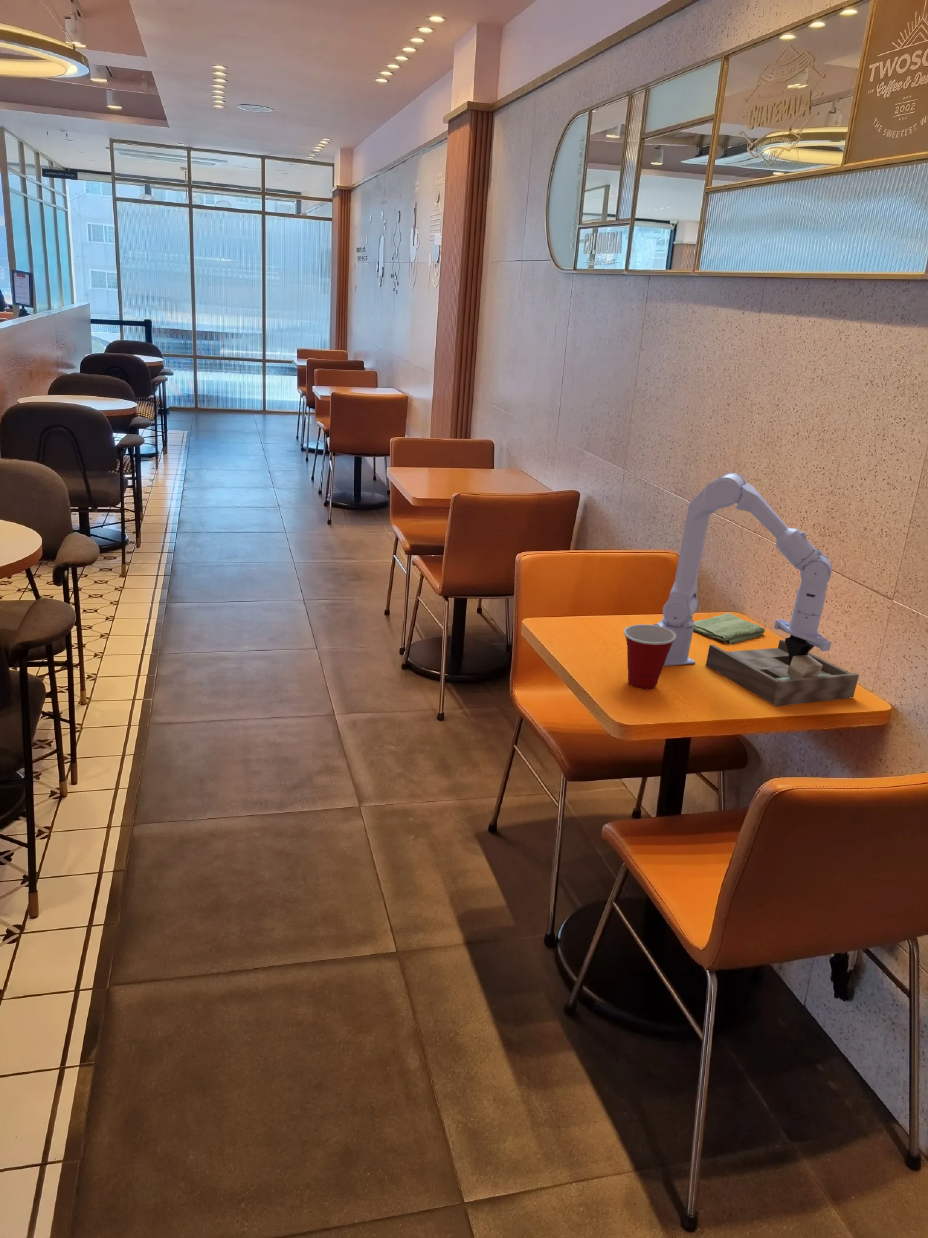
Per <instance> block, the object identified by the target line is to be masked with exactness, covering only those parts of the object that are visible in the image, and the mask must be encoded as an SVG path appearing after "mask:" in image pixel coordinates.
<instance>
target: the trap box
mask: <svg viewBox="0 0 928 1238" xmlns="http://www.w3.org/2000/svg"><path fill="white" fill-rule="evenodd" d="M807 655H810V656H811V657H812V658H814V659H815V660H816V661H818V662H819V663H820V664H822V665H823V666H822V669H821V671H820V674H819V676H818V677H807V678H797V679H793V678H792V677H791V676H790V675H788V674H787V671H788V669H789V654H788V649H787V646H786V643H785V639H779V642H778V646H777V647H774V648H773V647H772V648H759V649H748V650H746V649H745V650H731V651H726V650H724V649H722V648H720V647H718V646H716V645H714V644H709V646H708V652H707V656H706V661H705V666H706V667H707V668H710V669H711V670H713V671H715V672H716V673H718V674H720V675H721V676H724V677H725V678H727V679H728V680H730V681H732V682H734V683H735V684H737V685H739V686H740V687H742V688H744V689H745V690H747V691H749V692H751V693H752V694H755V696H758V697H759V698H761V699H763V700H764V701H766V702H767V703H770V704H772V705H773V706H775V707H784V706H793V705H800V704H801V705H803V704H811V703H821V702H830V701H837V700H839V699H840V700H847V699H846V698H849V699H851V698H850V697H853V698H854V696H855V693H856V688H857V684H858V681H859V677H860V674H859V673H856V672H852V673H851V672H849V671H847V670H846V669H843V668H841V667H840V666H838V665H835V664H833V663H831V662H829V661H827V660H824V659H823V658H821V657H819V656H816V655H815V654H813V653H811V652H810V651H809V652H808V654H807ZM840 700H839V701H840Z"/></svg>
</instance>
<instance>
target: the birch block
mask: <svg viewBox="0 0 928 1238" xmlns="http://www.w3.org/2000/svg"><path fill="white" fill-rule="evenodd" d="M822 666H823V665H822V664H820V663H819V662H818V661H816V660H815V659H814V658H812V657H811V656H810V655H800V656H793V658H792V661H791V664H790V666H789V669H788V671H787V674H788V675H790V676H791V677H792V678H793V679H797V678H807V677H818V676H819V674H820V671H821V669H822Z"/></svg>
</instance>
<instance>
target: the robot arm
mask: <svg viewBox="0 0 928 1238" xmlns="http://www.w3.org/2000/svg"><path fill="white" fill-rule="evenodd" d="M735 504H737V505H736V506H735V509H736V510H741V511H745V512H749V513H750V514H752V516H754V517H755V518H756V520H758V521H759V522H760V523H761V525H763V527H765V528H766V530H768V532H770V533H771V534H772V535H773V536H774V538H775V540H776V541H775V547H776V549H777V550H778V551H779V552H780V553H781V554H782V555H783V556H784V557H785V559H787V560H788V562H789V563H790V564H791V565H792V566H793V567H794V568H795V569H796V570H799V571H800V577H801V582H800V584H799V587H798V589H797V591H796V597H795V601H794V606H793V609H792V610H793V611H792V614H791V617H790V618H791V619H790V622H789V621H787V620H785V619H775V621H774V622H775V623H774V627H773V628H774V629H775V630H780V631H782V632H784V633H786V634H789V635H790V636H789V637H785V638H784V641H785V643H786V646H787V649H788V654H789V666H790V664H791V661H792V658H793V656H800V655H807V654H808V652H809V653H810V652H811V650H812V649H813V648H814V647H816V648H817V649H819V650H820V651H821V652H829V651H830V650H831V646H832V641H830V640H828V639H827V638H825V637H824V636H823V635H822V634H820V631H819V626H820V621H821V617H822V613H823V608H824V605H825V600H826V597H827V592H826V591H827V590H828V586H829V585H828V582H829V581H830V580H831V577H832V576H831V575H832V572H833V564H832V562H831V560H830V559H829V556H827V555H825V554H824V553H823V551H822V550H821V549H817V548H816V547H815V546H814V544H813V543H811V541H810V540H809V539H808V538H807V537H808V534H807V533H806V531H805V530H802V531H800V530H799V528H792V527H788V525H787V524H786V523H785V522H784V521H783V519H782V518H781V517H780V516H779V515H778V514H777V513H776V512H775V510H774V509H773V508H772V507H771V506H770V504H769V503H768V502H767V501H766V500H765V498H764V497H763V496H762V495H761V494H760V493H759V492H758V491H757V489H756V488H755V487H754V486H753V485H752V484H751V483H749V482H746V480H745V478H744V477H743V476H742V475H741V474H738V473H734V472H729V473H726V474H724V475H722V476H720V477H718V478H716V479H714V480H713V481H711V482H709V483H707V484H706V485H705V487H704V488H703V489H702V490H701V491H700V492H699V493H697V495H696V496H695V497H694V498H693V499H692V500H691V501H690V502H689V504H688V507H687V512H686V519H685V522H684V528H683V534H682V540H681V545H680V550H679V555H678V562H677V565H676V566H677V567H676V571H675V579H674V583H673V585H672V587H671V589H670V592H669V596H668V599H667V601H666V602H665V604H664V605H663V607H662V619H661V620H660V621H659V622H657V623H653V624H652V625H656V626H660V627H665V628H667V629H669V630H672V631H673V632H674V633H675V634H676V639H675V640H674V641H673V643H672V646H671V648H670V651H669V652H668V655H667V658H666V661H665V664H664V666H663V667H667V666H678V665H680V666H681V665H690V664H691V665H692V664H693V665H694V664H696V660H695V659H692V658H690V657H689V654H690V648H691V643H692V639H693V633H694V631H693V628H694V622H695V621H694V619H693V615H694V614H696V613H697V611H698V609H699V606H700V605H699V604H700V602H699V599H698V596H697V595H698V578H699V574H700V567H701V564H702V558H703V553H704V547H705V543H706V536H707V530H708V528H709V527H708V526H709V521H710V516H711V515H712V514H714V513H715V512H717V511H718V510H721V509H725V508H728V507H732V506H733V505H735Z"/></svg>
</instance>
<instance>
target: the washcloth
mask: <svg viewBox="0 0 928 1238" xmlns="http://www.w3.org/2000/svg"><path fill="white" fill-rule="evenodd" d="M693 632H696V633H699V634H701V635H704V636H706V637H707V636H708V637H710V638H711V639H712V638H713V639H716V640H719V641H722V642H724V643H726V644H727V645H728V644H729V645H733V644H737V643H741V642H744V641H748V640H751V639H754V638H758V636H759V637H762V636H763V635H764V633H765V632H766V629H765V627H763V626H760V625H758V624H757V623H754V622H751V621H747V620H745V619H742V618H740V617H739V616H736V615H734V614H731V613H729V612H727V613H724V614H721V615H715V616H712V617H709V618H706V619H704V618H703V619H697V620H696V621H694V628H693ZM761 635H762V636H761Z"/></svg>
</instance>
